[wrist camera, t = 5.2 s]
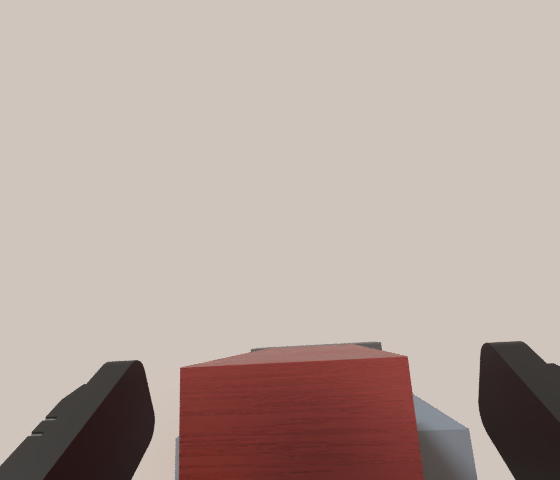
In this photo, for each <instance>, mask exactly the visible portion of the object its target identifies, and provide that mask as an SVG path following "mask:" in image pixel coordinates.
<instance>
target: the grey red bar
mask: <svg viewBox="0 0 560 480" xmlns="http://www.w3.org/2000/svg"><path fill="white" fill-rule="evenodd" d="M179 429H180V431H179V434H180V435H179V480H424V475H423V468H422V460H421V453H420V446H419V438H418V431H417V423H416V416H415V408H414V401H413V394H412V386H411V379H410V371H409V364H408V357H407V356H403V355H399V354H395V353H390V352H386V351H382V348H381V342H361V343H343V344H324V345H306V346H287V347H268V348H256V349H251V352H250V353H246V354H241V355H236V356H232V357H227V358H223V359H218V360H213V361H209V362H205V363H200V364H195V365H191V366H186V367H182V368H180V427H179Z"/></svg>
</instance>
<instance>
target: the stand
mask: <svg viewBox="0 0 560 480" xmlns="http://www.w3.org/2000/svg"><path fill="white" fill-rule="evenodd" d="M413 401H414V408H415V416H416V423H417V431H418V438H419V446H420V453H421V460H422V468H423V475H424V480H477V475H476V469H475V463H474V457H473V451H472V445H471V439H470V433H469V429H468V428H466V427H465V426H463V425H461V424H460V423H458V422H457V421H455V420H454V419H452V418H450V417H449V416H447V415H445V414H444V413H442V412H441V411H439V410H438V409H436V408H434V407H433V406H431V405H430V404H428V403H426V402H425V401H423V400H422V399H420V398H418V397H417V396H415V395H414V394H413ZM175 480H179V437H177V438H176V456H175Z"/></svg>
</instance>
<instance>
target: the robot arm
mask: <svg viewBox="0 0 560 480" xmlns="http://www.w3.org/2000/svg"><path fill="white" fill-rule="evenodd" d="M478 403H479V411H480V416H481V419H482V423H483V425H484V428H485V430H486V432H487V434H488V435H489V437H490V439H491V440H492V442H493V444H494V445H495V447H496V448H497V450H498V452H499V453H500V455H501V456H502V458H503V460H504V461H505V463H506V464H507V466H508V468H509V470H510V471H511V473H512V475H513V476H514V478H515V480H560V366H558V365H556V364H554V363H553V364H552V363H551V364H547V363H546V362H544V360H542V359H541V358H540V357H539V356H538V355H537V354H536V353H535V352H534V351H533V350H532V349H531V348H530V347H529V346H528V345H527V344H525V343H524V342H521V341H515V342H495V343H485V344H483V346H482V348H481V356H480V378H479V399H478ZM154 424H155V416H154V410H153V405H152V401H151V397H150V392H149V388H148V383H147V379H146V374H145V370H144V367H143V364H142V363H141V362H140V361H138V360H135V361H134V360H133V361H115V362H107V363H105V364H104V365H103V366H102V367H101V368H100V369H99V371H98V372H97V373H96V374H95V375H94V376H93V377H92V378H91V379H90V381H89V382H88V383H87V384H84V385H82V386H81V387H79V388H78V389H76V390H75V391H74V392H72V393H71V394H69V395H68V396H66V397H65V398H64V399H62V400H61V401H60V402H59V403H58V404H57V405H56V406H55V408H54V409H53V410H52V411H51V412H50V413H49V414H48V415H47V416H46V420H45V421H42V422H41V423H40V424H39V425H38V426H37V427H36V428H35V429H34V430H33V431H32V435H31V436H28V437H27V438H26V439H25V440H24V441H23V442H22V443H21V444H20V445H19V446H18V447H17V449H16V450H15V451H14V452H13V453H12V454H11V455H10V456H9V457H8V458H7V459H6V461H5V462H4V463H3V464H2V465H1V466H0V480H131V479H132V477H133V475H134V473H135V471H136V469H137V467H138V465H139V463H140V461H141V459H142V457H143V455H144V453H145V451H146V449H147V448H148V446H149V444H150V441H151V439H152V436H153V432H154Z"/></svg>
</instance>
